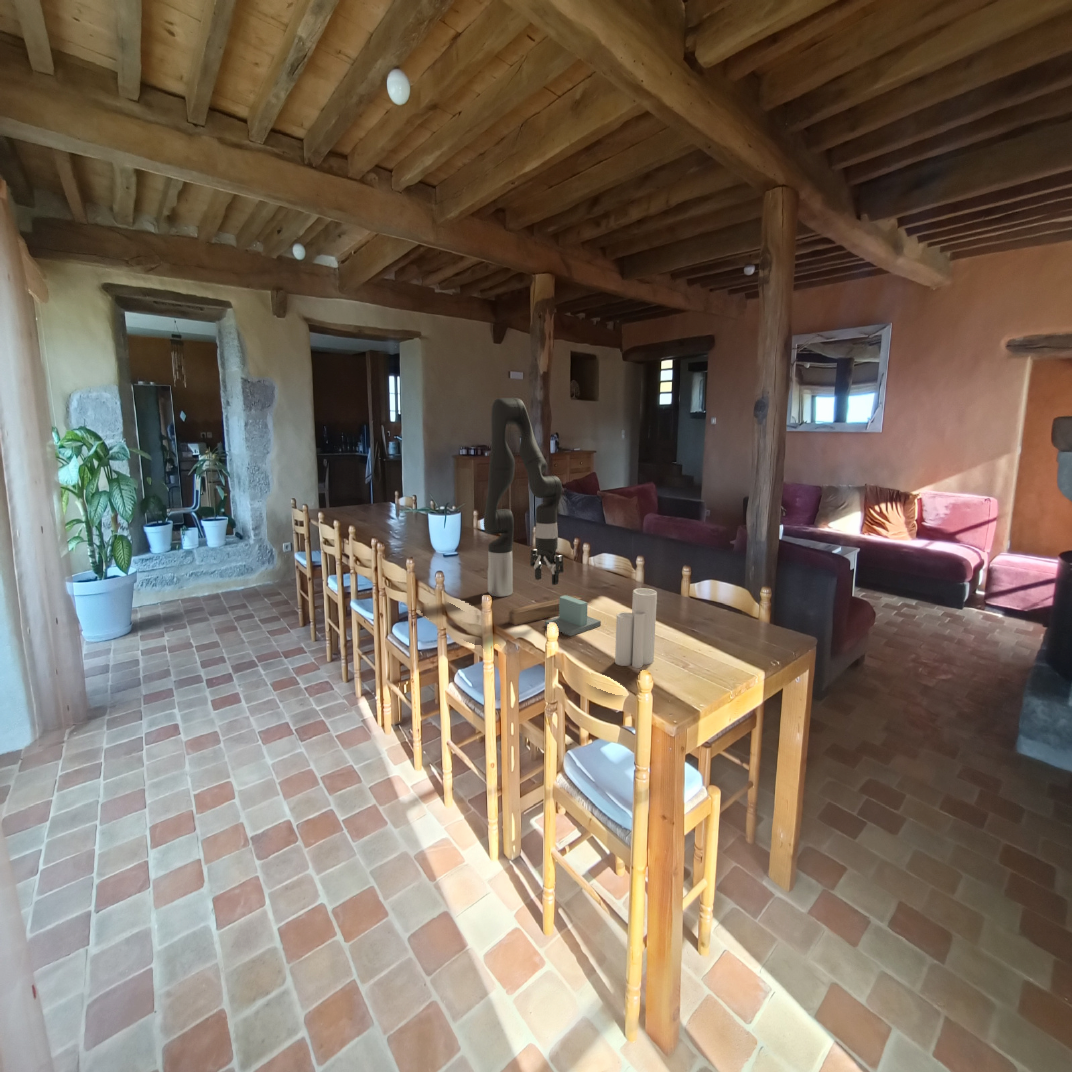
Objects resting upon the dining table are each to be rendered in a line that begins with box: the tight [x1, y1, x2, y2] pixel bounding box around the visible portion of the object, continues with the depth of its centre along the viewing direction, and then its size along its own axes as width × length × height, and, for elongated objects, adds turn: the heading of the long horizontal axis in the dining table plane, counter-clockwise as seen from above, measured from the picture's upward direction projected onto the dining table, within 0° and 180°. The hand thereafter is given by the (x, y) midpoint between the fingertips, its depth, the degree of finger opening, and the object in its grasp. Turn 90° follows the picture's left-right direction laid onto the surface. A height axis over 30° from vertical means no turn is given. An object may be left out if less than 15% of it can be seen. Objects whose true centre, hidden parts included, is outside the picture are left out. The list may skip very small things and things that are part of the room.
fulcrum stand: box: [544, 594, 602, 637], centre depth 177 cm, size 12×14×9 cm
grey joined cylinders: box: [614, 587, 658, 669], centre depth 150 cm, size 11×7×20 cm, turn 120°
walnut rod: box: [508, 595, 583, 626], centre depth 188 cm, size 4×28×4 cm, turn 124°
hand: (546, 581), depth 185 cm, fingers open, 8 cm apart
